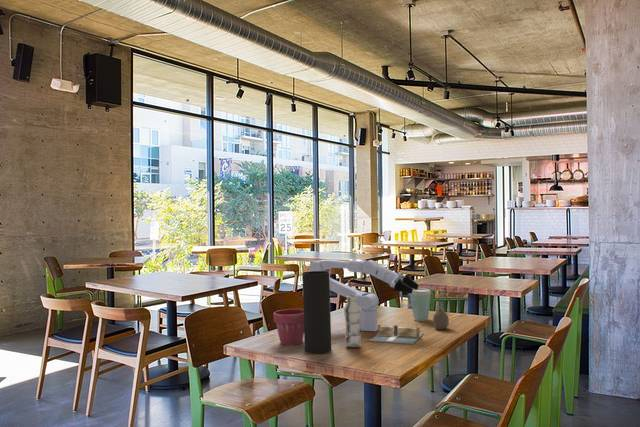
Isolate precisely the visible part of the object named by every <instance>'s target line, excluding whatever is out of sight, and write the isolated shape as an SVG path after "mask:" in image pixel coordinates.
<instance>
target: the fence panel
mask: <svg viewBox="0 0 640 427" xmlns="http://www.w3.org/2000/svg"><path fill="white" fill-rule="evenodd" d="M420 331H421V330H420V326H416V327H404V326H401V327H400V326H398V335H400V336H416V337H420V333H421V332H420ZM420 338H421V337H420Z"/></svg>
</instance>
